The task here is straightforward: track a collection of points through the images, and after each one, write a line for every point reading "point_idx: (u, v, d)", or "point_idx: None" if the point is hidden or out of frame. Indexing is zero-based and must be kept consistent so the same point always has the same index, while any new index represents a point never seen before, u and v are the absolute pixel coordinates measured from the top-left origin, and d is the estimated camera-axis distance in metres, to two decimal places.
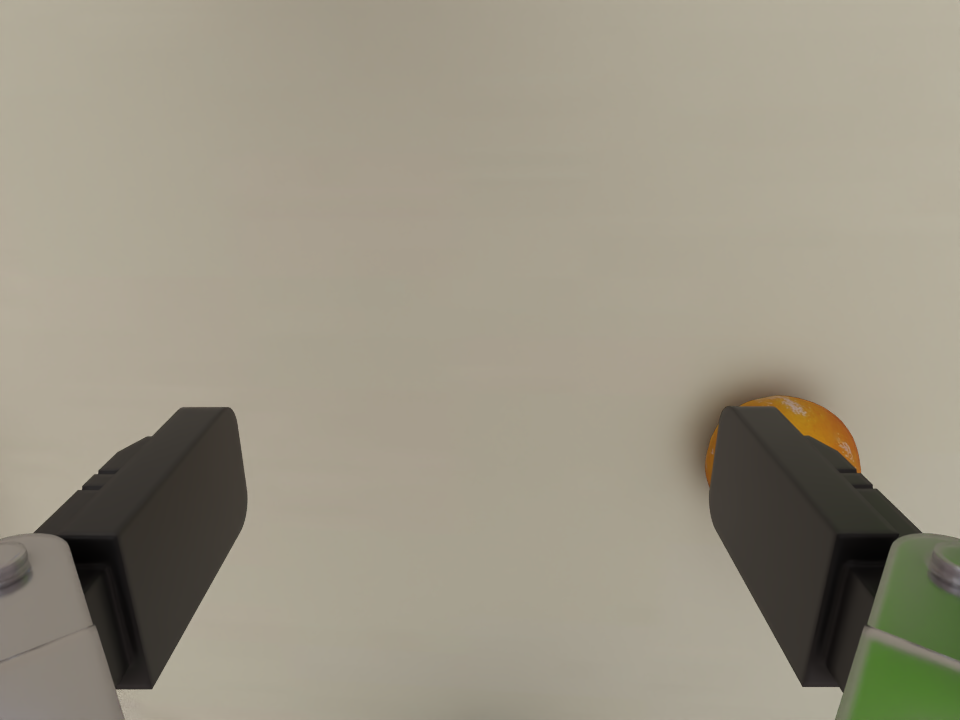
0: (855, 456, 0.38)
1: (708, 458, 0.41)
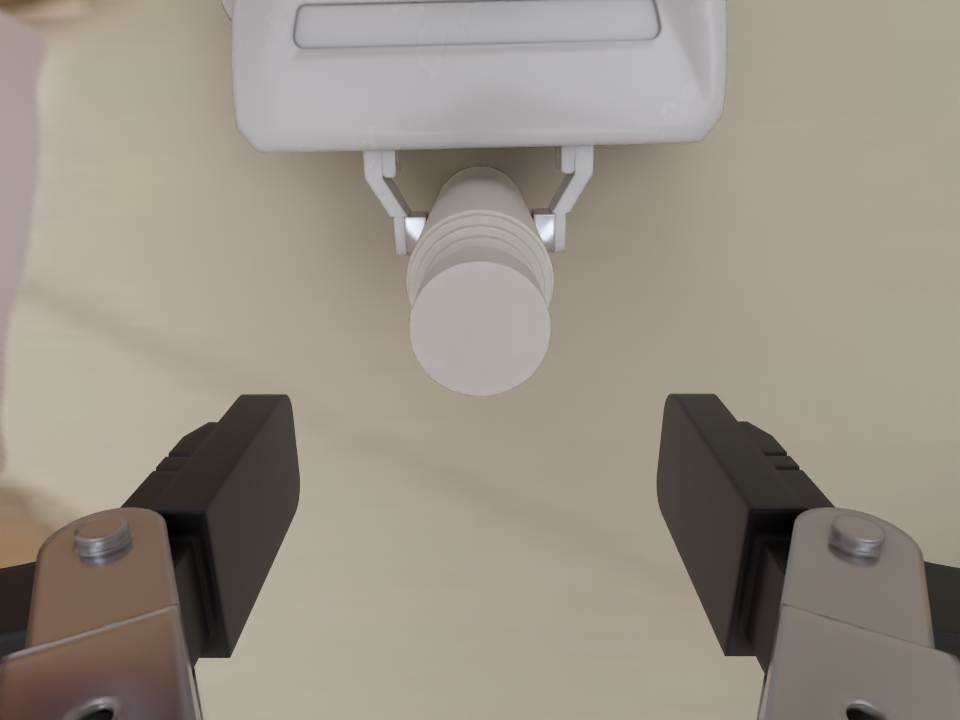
0: None
1: None
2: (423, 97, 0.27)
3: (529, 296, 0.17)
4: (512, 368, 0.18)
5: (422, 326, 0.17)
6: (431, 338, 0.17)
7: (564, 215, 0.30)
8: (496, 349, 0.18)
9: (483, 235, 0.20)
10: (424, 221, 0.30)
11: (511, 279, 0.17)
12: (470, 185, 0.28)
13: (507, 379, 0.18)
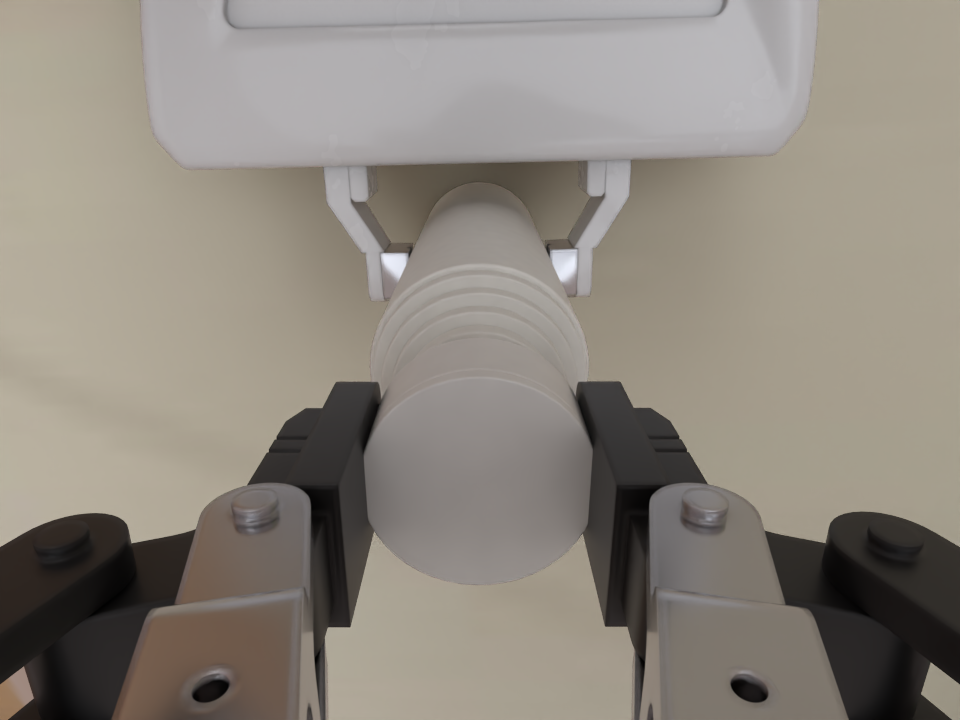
0: None
1: None
2: (403, 96, 0.20)
3: (563, 433, 0.10)
4: (533, 544, 0.11)
5: (381, 480, 0.10)
6: (397, 499, 0.10)
7: (590, 250, 0.23)
8: (506, 515, 0.10)
9: (484, 306, 0.13)
10: (406, 258, 0.23)
11: (533, 406, 0.10)
12: (466, 214, 0.20)
13: (524, 560, 0.11)
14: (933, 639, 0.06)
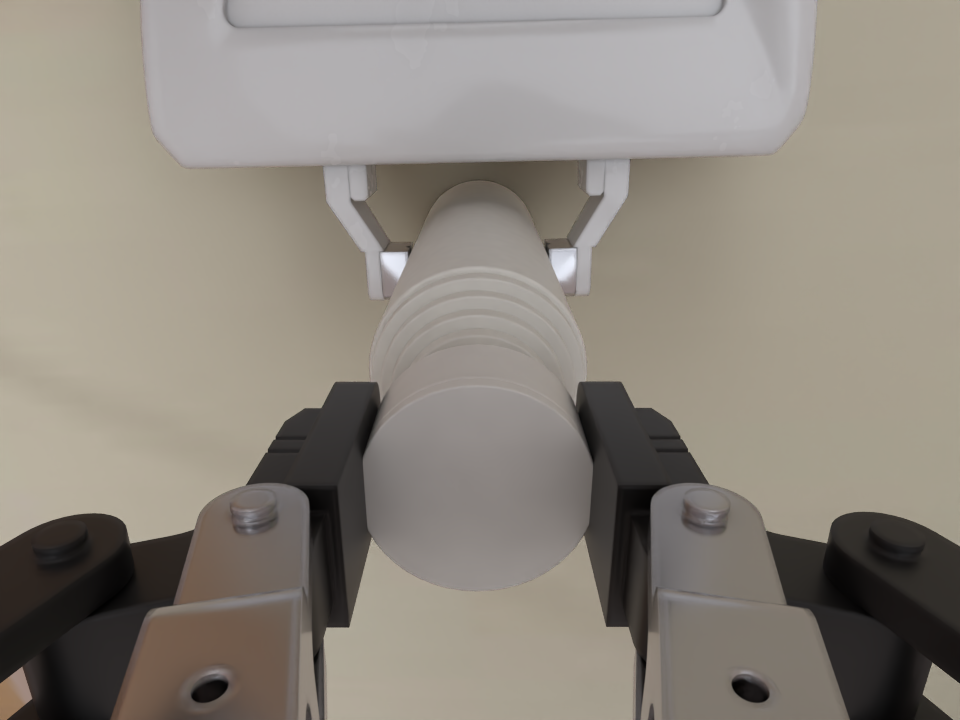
0: None
1: None
2: (402, 95, 0.20)
3: (423, 415, 0.10)
4: (552, 453, 0.10)
5: (458, 573, 0.11)
6: (479, 563, 0.11)
7: (589, 249, 0.23)
8: (512, 474, 0.10)
9: (483, 309, 0.13)
10: (406, 257, 0.23)
11: (391, 440, 0.10)
12: (466, 214, 0.20)
13: (571, 463, 0.10)
14: (934, 639, 0.06)
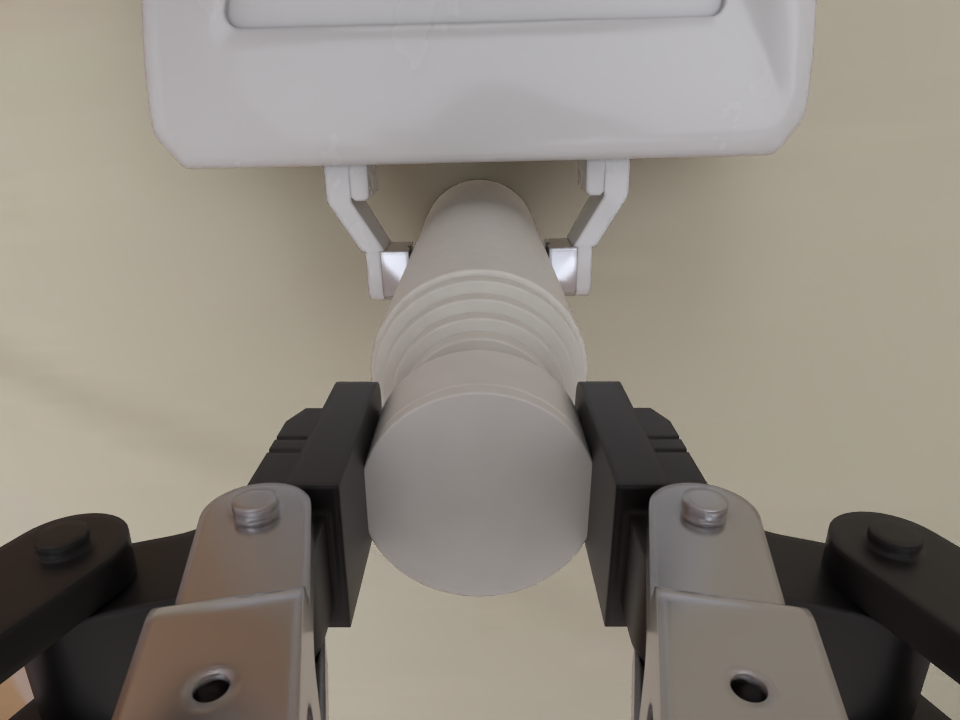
0: None
1: None
2: (403, 95, 0.20)
3: (388, 534, 0.11)
4: (438, 432, 0.10)
5: (569, 527, 0.10)
6: (561, 507, 0.10)
7: (589, 249, 0.23)
8: (459, 469, 0.10)
9: (485, 312, 0.13)
10: (406, 257, 0.23)
11: (411, 563, 0.11)
12: (467, 214, 0.21)
13: (452, 415, 0.10)
14: (933, 639, 0.06)
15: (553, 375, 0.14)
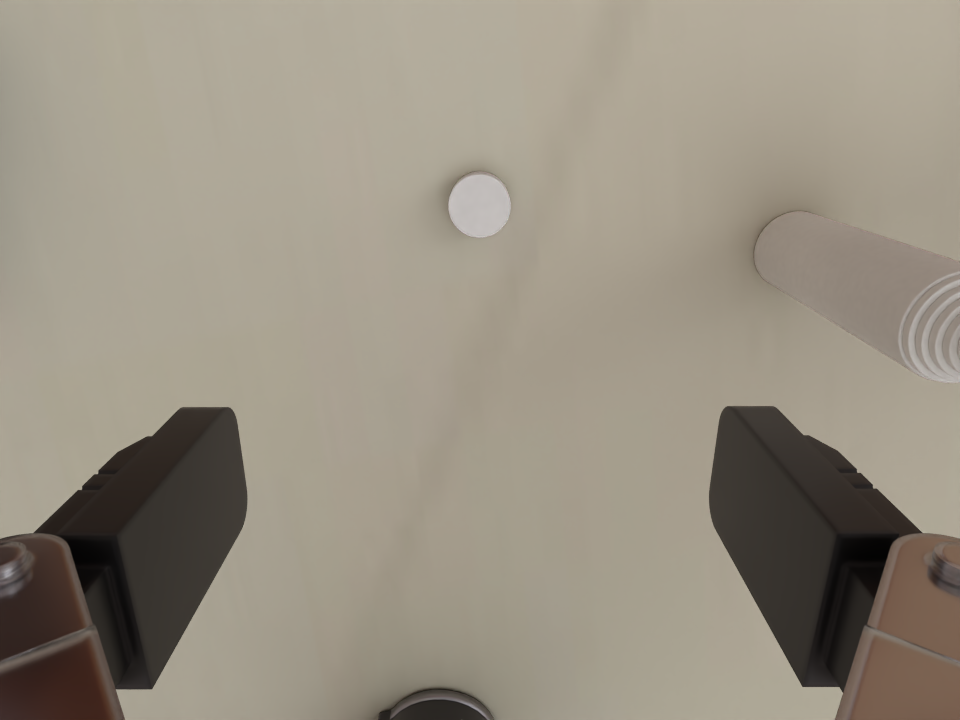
0: None
1: None
2: None
3: (505, 202, 0.39)
4: (484, 228, 0.40)
5: (457, 192, 0.39)
6: (458, 199, 0.39)
7: None
8: (482, 217, 0.40)
9: None
10: None
11: (502, 191, 0.39)
12: None
13: (480, 232, 0.40)
14: None
15: None
